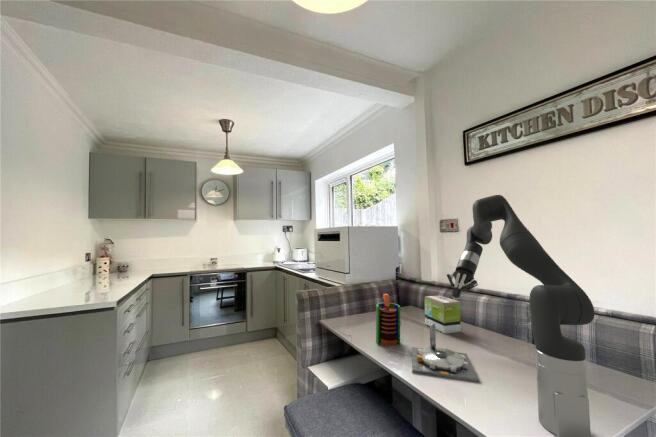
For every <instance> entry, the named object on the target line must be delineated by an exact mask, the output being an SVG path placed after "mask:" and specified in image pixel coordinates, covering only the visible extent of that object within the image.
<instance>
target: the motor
mask: <svg viewBox="0 0 656 437" xmlns="http://www.w3.org/2000/svg"><path fill="white" fill-rule="evenodd" d="M382 299H383V300H384V302H378V303H376V304H375V310H376V311H375V321H376V322H375V343H376V344H377V345H382V346H386V347H394V346H397V345H401V306H400V305H399V304H396V303H393V302H390V295H389V294H388V293H383V294H382Z"/></svg>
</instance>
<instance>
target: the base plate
mask: <svg viewBox="0 0 656 437" xmlns="http://www.w3.org/2000/svg"><path fill="white" fill-rule="evenodd" d="M424 348H425V347H413V346H411V369H412V370H411V372H412V374H416V375H417V374H418V375H426V376H430V377H431V376H433V377H438V378H447V379H453V380H460V381H466V382H473V383H474V382H475V383H480V378H479V375H478V373H477V371H476V369H475V367H474V366H473V364H472V362H471V360H470V357H469V356H468V354H467V352H466V353H465V352H456V351H455V352H456V353H458V354H463V355H464V356H466V361H465V362H468V368H467V369H465V368H462V369H459V370H456V372H451V371H450V370H442V369H437V368H436V369H432V368H429V366H428V365H426V364H424V363H423V362H418V360H417V355H419V354H417V349H424Z"/></svg>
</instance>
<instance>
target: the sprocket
mask: <svg viewBox="0 0 656 437" xmlns="http://www.w3.org/2000/svg"><path fill="white" fill-rule="evenodd" d="M436 332H437V331H436V329H435V324H430V326H429V346H427V347H423V348H424V349H417V354H419V355H417V360H418V362H423V363H424V364H426V365H428V366H429V368H432V369H436V368H437V369H442V370H450V371H451V372H456V370H459V369H462V368H465V369H467V368H468V362H465V361H466V356H464V355H463V354H458V353H459V352H458V353H456V351H453V350H452V349H451V348H448V347H445V348H442V347H436V346H437V345H436V343H437V342H436V340H437V339H436V338H437V336H436Z"/></svg>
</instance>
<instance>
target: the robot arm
mask: <svg viewBox="0 0 656 437" xmlns="http://www.w3.org/2000/svg"><path fill="white" fill-rule="evenodd" d="M472 219H473V225H471V226H469V227H468V229H467V230H466V244H465V247H464V249H463V252H462V253H461V255H460V257H459V260H458V262H457V264H456V267H455V270H454V271H453V272H452V273H451V274H450V273H447V274H446V277H447V279H448V281H449V284H450V285H451V288H452V293H451V295H452V296H453V298H454V299H459V298H460V297H461V294H462V292H468V291H470V290H471V289H473V288H476V287H477V286H479V284H478V281H477V279H476V280H475V275H476V271H477V268H478V265H479V262H480V259H481V256H482V254H483V249H484V248H483V246H485V245H489V244H490V243H491V241H492V240H493V232H492V229H493V222H497V221H501V220H502V221H504V225H503V228H502V230H501V233H500V236H499V246H500V248H501V250H502V251H503V252H504V254H505V256H506V257H507V259H508V260H509V262H510V263H512V264H513V265H514V266H516V268H518V269H520V270H522V271H523V272H525V273H526V274H527V275H529V276H531V277H533V278H534V279H537V280H538V281H539V282H540V283H542V284H539V285H535V286H533V288H532V289H531V290H530V293H529V302H528V304H529V310H530V321H531V331H532V332H531V333H532V336H533V339H534V344H535V345H534V346H535V365H536V368H535V370H536V387H537V388H536V389H537V392H536V393H537V407H538V411H537V412H538V421H539V422H538V423H540V424H541V426H542V427H544V428H545V429H546V430H547V431H549V432H550V433H552V434H554V435H555V437H592V433H591V417H590V402H589V401H590V400H589V395H588V394H589V393H588V378H587V377H588V376H587V361H586V358H587V357H586V349H585V346H584V345H583V344H582V343H580V342H579V341H577V340H575V339H573V338H569V337H567V336H564V335H563V334H562V329H561V325H562V326H583V325H589V324H590V323H592V322H593V321H594V318H595V308H594V304H593V303H592V300H591V299H590V298H589V296H588V294H587V293H586V291H585V290H584V289H583V288H582V287H580V285H578V284H577V282H575V280H573V279H572V278H571V277H570V276H569V275H568V274H567V273H566V272H565V271H564V270H563V269H562V268H561V267H560V266H559V265H558V264H557V263H556V262H555V260H554V259H553V258H552V257H551V256H550V255H549V253H548V252H547V251H546V250H545V249H544V248H543V246H542V245H541V243H540V242H539V241H538V240H537V239H536V237H535V236H534V235H533V234H532V233H531V231H530V230H529V229H528V228H527V227H526V226H525V224H524V223H523V222H522V221H521V220H520V218H519V217H518V215H517V214H516V212H515V210H514V209H513V207H512V206H511V204H510V203H509V202H508V200H507V199H506V198H505V197H504V196H503V195H502V194H494V195H489V196H485V197H482V198H479V199H477V200H475V201H474V202H473V204H472ZM482 245H483V246H482ZM453 280H454V281H455V283H454V282H453Z"/></svg>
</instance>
